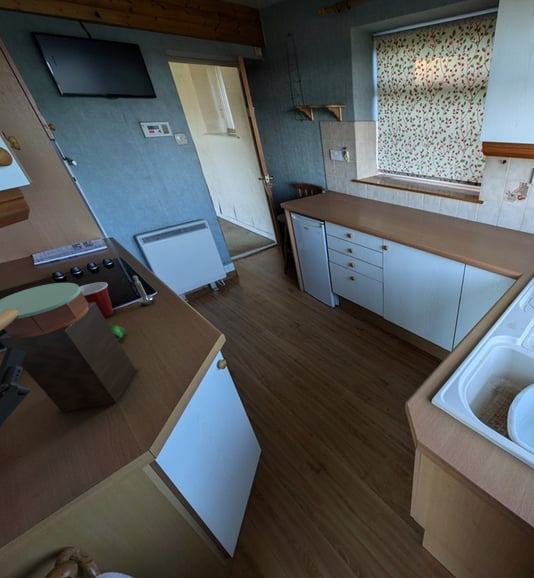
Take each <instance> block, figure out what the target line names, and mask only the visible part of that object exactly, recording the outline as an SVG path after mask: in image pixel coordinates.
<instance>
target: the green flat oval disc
mask: <svg viewBox="0 0 534 578" xmlns="http://www.w3.org/2000/svg"><path fill="white" fill-rule="evenodd" d="M80 287H81V286H79V285H78V284H76V283H73V282H55V283H48V284H43V285H38V286H34V287H30V288H27V289H23V290H20V291H18V292H14V293H12V294H10V295H7V296H5V297H3V298H1V299H0V332H2V330H5V329H4V328H5V327H6V326H8V325H9V324H10V323H12V322H13V321H14V320H16V319H19V318H25V317H29V316H33V315H37V314H40V313H44V312H47V311H50V310H52V309H55V308H57V307H60V306H62V305H64V304H66V303H68V302H70V301H71V300H73V299H74V298H76V297H77V296H78V295H79V294H80V292H81V289H80Z"/></svg>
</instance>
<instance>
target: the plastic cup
mask: <svg viewBox="0 0 534 578" xmlns="http://www.w3.org/2000/svg"><path fill="white" fill-rule="evenodd" d="M108 284H109V283H107V282H103V281H101V282H93V283H88V284H84V285H81V286H79V287H80V289H81V292H82V294H83V296H84V297H85V299H86V300H87V302H88V303H92V302H95V303H96V305H97V306H98V308H99V310H100V311H101V313H102V315H103V316H104V318H105V319H106V318H108V317H110V316H112V314H113V313H114V310H113V306H112V302H111V298H110V295H109V290H108Z"/></svg>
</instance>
